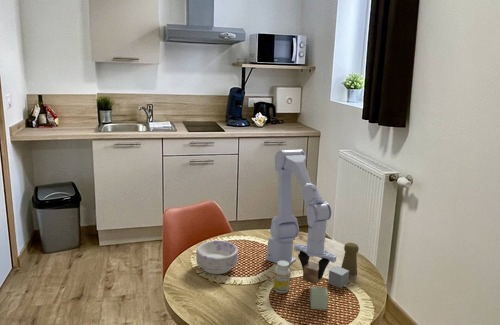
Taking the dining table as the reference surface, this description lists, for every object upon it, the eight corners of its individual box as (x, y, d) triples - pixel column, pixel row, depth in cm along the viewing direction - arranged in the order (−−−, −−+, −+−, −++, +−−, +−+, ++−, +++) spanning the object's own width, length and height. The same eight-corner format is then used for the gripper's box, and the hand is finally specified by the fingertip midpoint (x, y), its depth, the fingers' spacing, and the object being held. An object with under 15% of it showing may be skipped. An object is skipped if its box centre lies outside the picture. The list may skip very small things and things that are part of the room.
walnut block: (302, 279, 140) (303, 266, 139) (308, 274, 144) (310, 261, 143) (316, 284, 137) (317, 270, 136) (322, 278, 141) (323, 265, 140)
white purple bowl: (189, 274, 146) (189, 253, 145) (205, 256, 161) (205, 237, 159) (230, 282, 143) (230, 261, 141) (242, 262, 157) (243, 243, 155)
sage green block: (311, 308, 129) (312, 294, 128) (309, 300, 134) (310, 286, 133) (327, 310, 129) (328, 295, 128) (325, 301, 134) (326, 287, 133)
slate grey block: (328, 283, 145) (329, 270, 144) (335, 278, 149) (336, 265, 148) (340, 288, 142) (341, 275, 141) (347, 283, 146) (349, 270, 145)
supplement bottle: (283, 295, 136) (285, 268, 134) (270, 289, 139) (271, 263, 137) (292, 289, 140) (294, 263, 138) (279, 283, 143) (281, 257, 141)
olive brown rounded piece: (357, 276, 151) (360, 248, 149) (340, 273, 152) (343, 246, 150) (356, 268, 157) (359, 241, 154) (340, 266, 158) (343, 239, 155)
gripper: (291, 236, 138) (288, 273, 141) (332, 248, 130) (328, 287, 133) (300, 229, 143) (297, 265, 146) (340, 241, 136) (336, 278, 139)
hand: (312, 275), depth 140 cm, fingers closed on walnut block, 5 cm apart
